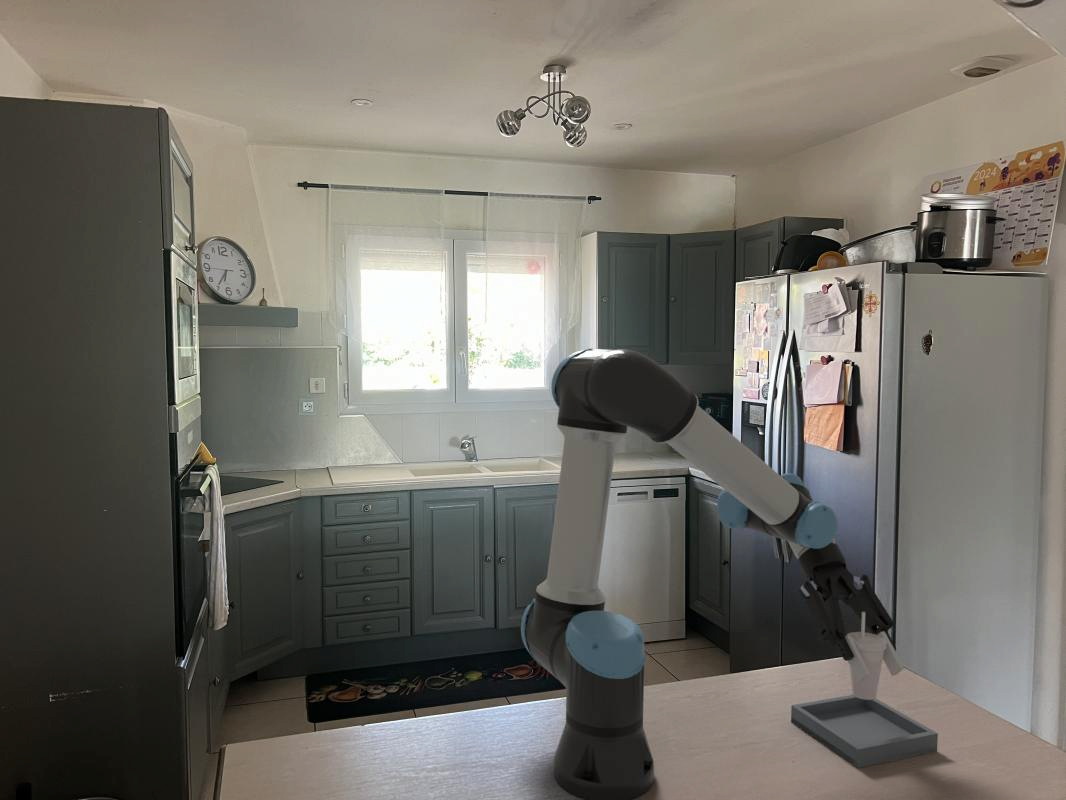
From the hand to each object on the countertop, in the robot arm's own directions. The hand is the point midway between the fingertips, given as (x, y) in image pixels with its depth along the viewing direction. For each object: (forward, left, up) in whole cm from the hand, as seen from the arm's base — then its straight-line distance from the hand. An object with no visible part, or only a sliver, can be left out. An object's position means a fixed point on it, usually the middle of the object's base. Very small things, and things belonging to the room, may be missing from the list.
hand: (881, 674), depth 128 cm
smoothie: (0, +4, -5) cm, 6 cm away
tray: (0, +3, -12) cm, 12 cm away
